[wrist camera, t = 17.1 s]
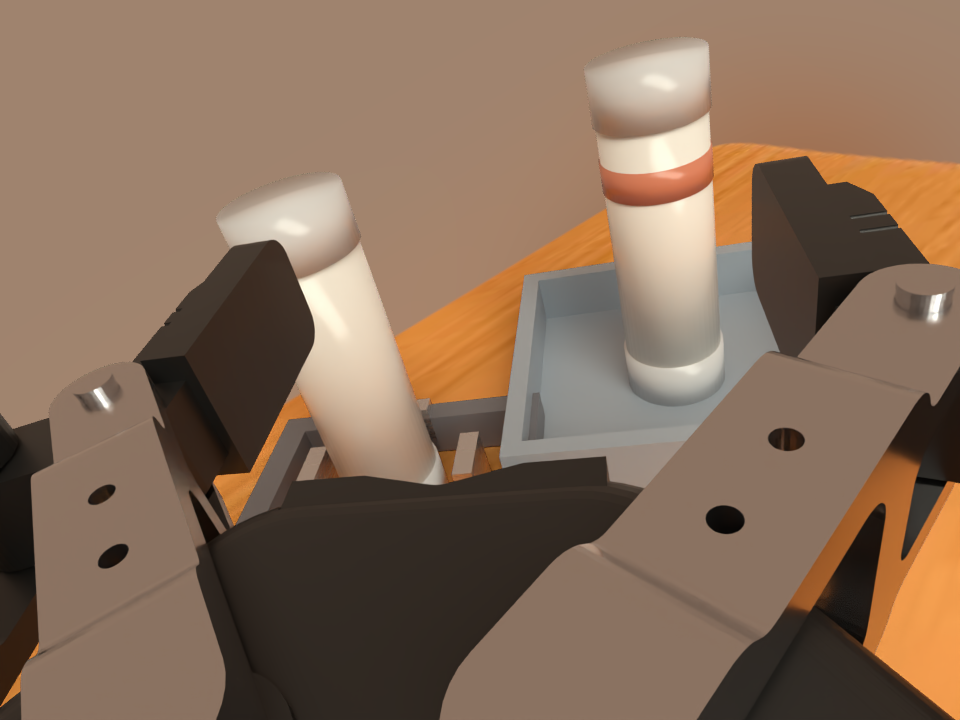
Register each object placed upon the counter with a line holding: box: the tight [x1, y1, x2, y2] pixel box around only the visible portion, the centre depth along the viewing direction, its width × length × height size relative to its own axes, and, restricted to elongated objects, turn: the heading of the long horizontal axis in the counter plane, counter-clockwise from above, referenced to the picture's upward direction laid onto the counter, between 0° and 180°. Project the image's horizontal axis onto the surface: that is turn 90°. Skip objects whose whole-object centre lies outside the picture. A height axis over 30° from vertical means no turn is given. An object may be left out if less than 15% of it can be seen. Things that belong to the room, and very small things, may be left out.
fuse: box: [216, 172, 449, 485], centre depth 27 cm, size 4×4×14 cm
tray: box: [499, 242, 780, 488], centre depth 32 cm, size 14×14×3 cm
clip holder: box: [236, 392, 545, 525], centre depth 26 cm, size 12×18×2 cm
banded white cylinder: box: [584, 37, 725, 406], centre depth 29 cm, size 4×4×14 cm
